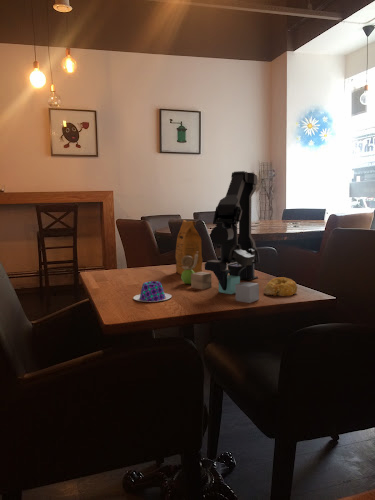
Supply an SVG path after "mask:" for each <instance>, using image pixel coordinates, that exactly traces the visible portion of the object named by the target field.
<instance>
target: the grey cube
mask: <svg viewBox="0 0 375 500" xmlns="http://www.w3.org/2000/svg"><path fill="white" fill-rule="evenodd" d="M235 289H236V293H235V302H241V303H248V304H251V303H253V302H257V301H259V300H260V285H259V283H256V282H247V281H243V282H240V283H239V284H236V285H235Z"/></svg>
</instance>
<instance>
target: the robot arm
mask: <svg viewBox="0 0 375 500" xmlns="http://www.w3.org/2000/svg"><path fill="white" fill-rule="evenodd" d="M257 185H258V175H257V174H255V173H254V172H247V171H245V170H241V171H238V170H237V171H233V172H232V173H231V180H230V183H229V184H228V188H227V191H226V195H225V196H224V197H222V198H221V199H220V200H219V201H218V204H217V206H216V207H215V212H214V215H213V219H212V221H213V222H212V225H216V226H215V227H213V228H212V229H211V231H210V234H209V236H210V240H211V242H212V243H214V244H215V245H217V249H219V256H218V257H217V259H211V260H206V261H205V262H204V271H211V272H213V274H214V276H215V277H216V279H217V281H218V284H219V283H220V285H221V287H222V289H223V290H226V287H227V275H232V276H240V280H245V281H251V280H252V281H253V280H255V279H258V278H259V276H256V275H255V264H259V263H260V255H259V251H258V248H257V246H256V241H255V239H254V238H253V236H252V197H253V195H254V194H255V192H256V189H257Z"/></svg>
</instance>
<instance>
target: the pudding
mask: <svg viewBox="0 0 375 500" xmlns="http://www.w3.org/2000/svg"><path fill="white" fill-rule="evenodd" d="M140 289H141V291H140V294H136V295H134V296H133V300H135V301H137V302H145V303H155V302H162V301H167V300H169V299H171V298H172V294H170V293H167V292H165V290H164V287H163V285H162V283H161V281H157V280H156V281H153V280H151V281H145V282H143V283H142V285H141V288H140Z"/></svg>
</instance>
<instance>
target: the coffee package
mask: <svg viewBox="0 0 375 500" xmlns="http://www.w3.org/2000/svg"><path fill="white" fill-rule="evenodd" d="M195 225H196V222H195V221H193V220H190V221H187V220H186V219H183V221H182V223H181V225H180V229H179V232H178V234H177V238H176V246H175V264H176V265H175V271H176V273H177V274H178V275H179V276H181V275H182V272H183V271H184V270H185V269H183V268H182V266H183V264H182V258H183V257H184V256H191V257H192V258H193V260H194V259H195V257H194V256H195V255H196V254H197V251H198V254H197V255H198V260H197V264H196V266H195V268H193V269H191V270H193V271H194V272H195V273H197V272H203V257H202V252H203V251H202V250H203V249H202V238H201V236H200V234H199V232H198V230H196V227H195Z"/></svg>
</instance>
